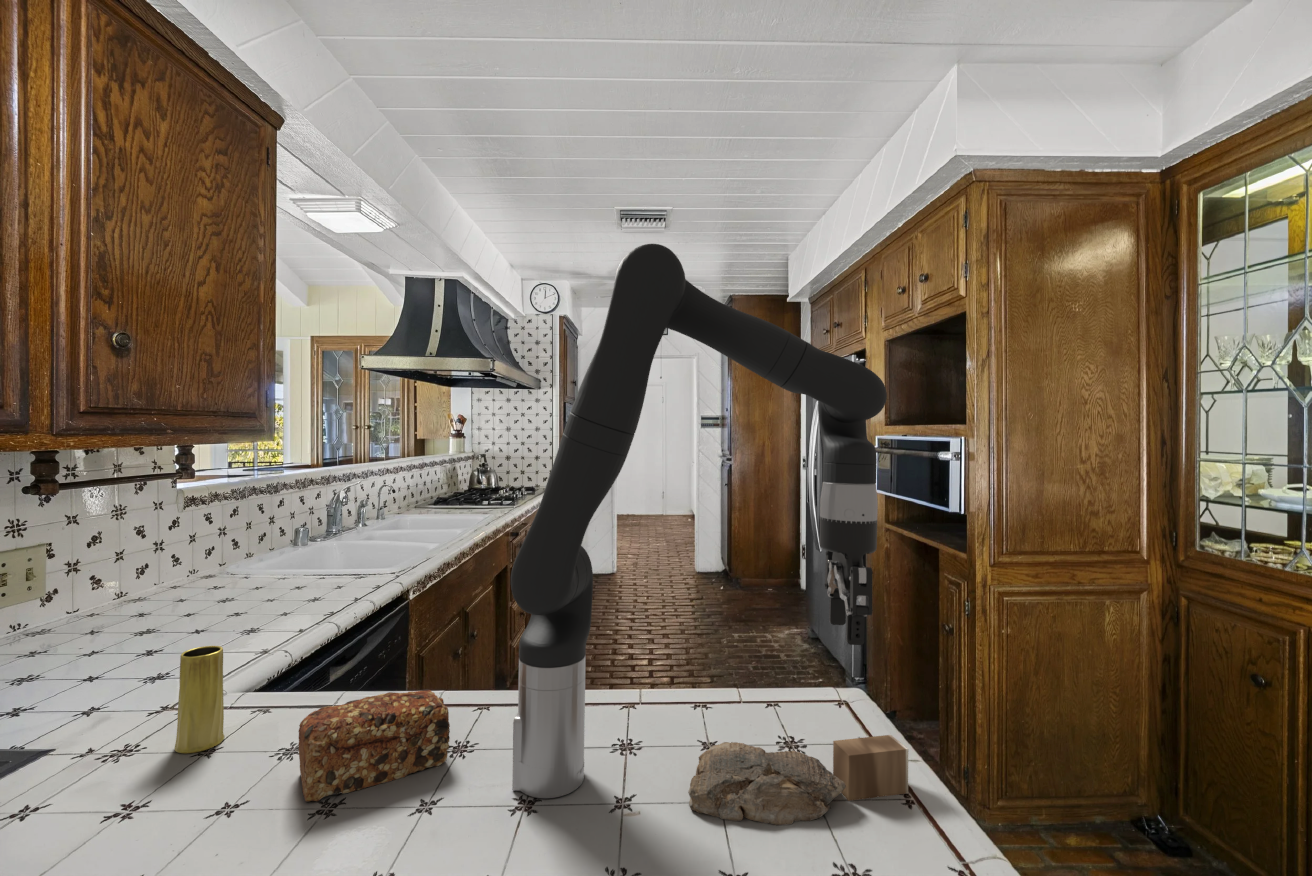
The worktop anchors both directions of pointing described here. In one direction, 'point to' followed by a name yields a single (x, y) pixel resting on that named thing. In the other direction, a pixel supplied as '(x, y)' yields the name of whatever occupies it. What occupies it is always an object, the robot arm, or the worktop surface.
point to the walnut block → (871, 766)
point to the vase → (200, 700)
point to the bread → (371, 742)
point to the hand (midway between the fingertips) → (845, 633)
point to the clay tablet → (761, 785)
